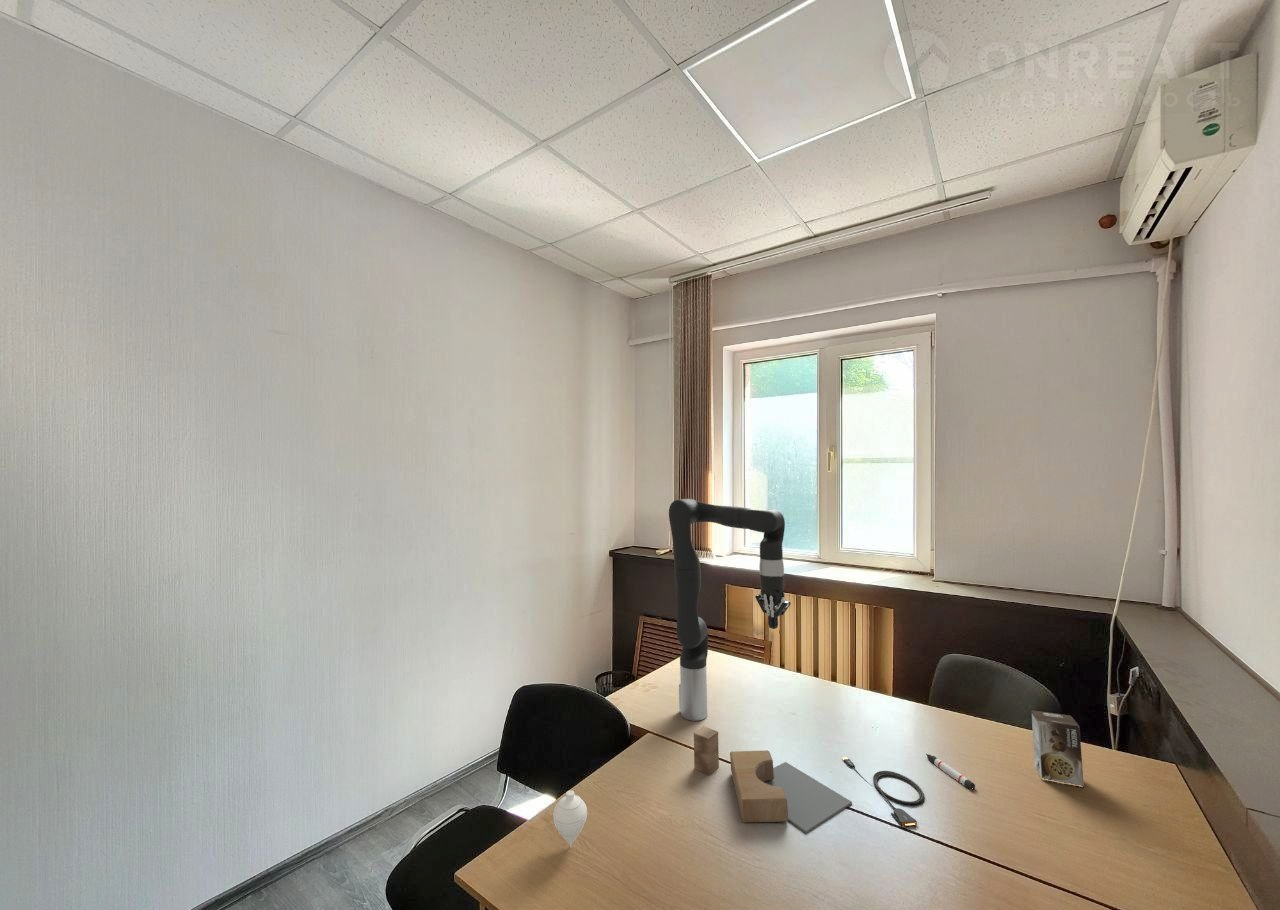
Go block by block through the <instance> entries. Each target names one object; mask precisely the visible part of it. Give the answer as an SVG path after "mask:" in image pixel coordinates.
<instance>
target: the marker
mask: <svg viewBox="0 0 1280 910" xmlns="http://www.w3.org/2000/svg"><path fill="white" fill-rule="evenodd" d="M925 755H926V757H927V759H928V760H929V762H931V763H932V764H933V765H935V766H936V767H937V768H939V769H940V770H942V771H943V772H944V773H945V774H947V775H948V776H950V777H951V778H953V779H954V780H955V779H956V781H957V782H958V781H959V782H958V783H959V784H961V783H962V784H961V785H963V786H964V787H966V788H967V789H968V788H969V789H968V790H970V789H972V788H975V789H976V784H975V782H972V781H971V780H970V779H968V778H967V777H966V776H965V775H963V774H961V773H960V772H958V771H957V770H955V769H954V768H953V767H951V766H950V765H948V764H947V763H945V762H944V761H943V760H941V759H940V758H938V757H936V756H934V755H931V754H928V753H925ZM972 790H973V789H972Z"/></svg>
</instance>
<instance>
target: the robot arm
mask: <svg viewBox="0 0 1280 910" xmlns="http://www.w3.org/2000/svg"><path fill="white" fill-rule="evenodd" d="M668 519H669V526H670V531H671V533H670V534H671V538H672V552H673V561H674V563H673V568H674V569H673V570H674V584H675V597H676V607H677V609H676V610H677V611H676V615H677V616H676V636H677V640H678V642H679V644H680V646H682V649H681V650H682V651H681V652H680V657H679V675H680V676H679V677H680V680H679V681H680V683H679V685H678V704H679V709H678V710H679V711H678V712H679V713H680V715H681V717H682V718H683V719H685V720H688V721H693V722H695V721H702V720H704V719H706V718H707V717H708V685H707V684H708V683H707V681H708V680H707V678H708V677H707V659H708V654H709V652H708V651H709V647H708V646H709V629H708V626H707V624H706V621H705V620H704V619H703V618H702V617H700V616H699V611H698V607H699V604H698V603H699V597H700V591H701V586H702V571H701V562H700V558H699V555H698V553H697V552H696V549H695V546H694V545H693V542H692V535H691V525H692V524H694V523H713V524H717V525H721V526H723V527H729V528H734V529H741V530H751V531H754V532H758V533H762V534H763V539H761V541H760V542H759V587H760V589H761V590H760V593H759V594H756V595H755V600H756V602H757V603H758V605H759V607H760V609H761V611H762V613H764V614H766V615H767V625H768V628H769V629H772V630H775V629H778V626H779V617H780V616H784V614H785V613H786V612H787V610H788V609H789V608H790V606H791V601H790V600H789V601H788V600H787V599H786V598H785V594H784V589H785V567H784V556H783V555H784V554H783V553H784V552H783V541H784V538H785V537H784V536H785V528H786V521H785V517H784V515H783V514H782V512H781V511H779V510H778V509H775V508H773V509H766V510H761V509H760V510H759V509H752V508H749V507H743V506H734V505H733V506H731V505H716V504H710V503H706V502H702V501H699V500H696V499H692V498H681V499H675V500H673V501H672V502H671V504H670V506H669V508H668Z"/></svg>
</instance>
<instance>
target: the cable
mask: <svg viewBox="0 0 1280 910" xmlns="http://www.w3.org/2000/svg"><path fill="white" fill-rule="evenodd" d="M841 760H842V761H843V763H844V764H846V766H847V767H849V768H850V769H853V770H854V771H855V773H857V775H858V776H859V777H861V778H862V779H863V780H864V782H866V783H867V784H869V785H870V786H871V787H873V786H872V784H870V782H868V780H866V779H865V778H864V777H863V776H862V775H861V774H860V772H858V771H857V769H856V766H855V764H854V762H852V761H851V759H850V758H848V757H842V758H841ZM882 778H895V779H898V780H900V781H903V782H905V783H907V784H909V786H912V788H914V790H916V792H917V793H918V795H919V797H918V799H916V800H912V801H908V800H907V801H906V800H902V799H899V798H896V797H893V796H891V795H890V794H888V793H887V792H885V791H884V790H883V789H882V788H881V787H880V785H879V784H878V783H879V780H881V779H882ZM872 781H873V785H874V787H875V789H876V791H877V792H878V793H880V794H881V795H882V797H884V799H885V801H886V802H888V803H889V805H890V807H892V809H893V812H891V813H890V815H891V816H892V818H894V820H895V821H896V822H897V824H898V825H899V826H900V827H903V828H905V829H907V828H912V827H915V828H917V826H918V821H917V819H916V818H914V817H912V816H911V815H910V814H908V812H906V811H905V810H904V809H903V808H897V807H895V806H894V805H893V804H892V802H893V803H895V804H898V805H901V806H905V807H912V808H913V807H919V806H921V805H922V804H924V803H925V798H926V797H925V794H924V791H923V789H922V788H921V787H920V786H919V785H918V784H917V783H916V782H915V781H913V780H912V779H911V778H909V777H907V776H905V775H903V774H901V773H899V772H895V771H890V770H880V771H877V772H875V773H874V774H873V776H872Z"/></svg>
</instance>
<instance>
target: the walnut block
mask: <svg viewBox="0 0 1280 910" xmlns="http://www.w3.org/2000/svg"><path fill="white" fill-rule="evenodd" d="M719 749H720V748H719V731H717V730H715V729H712V728H710V727H707V726H705V725H703V726H701V727H700V728H698V729H697V730H696V731H694V732H693V753H694V754H693V759H694V762H693V763H694V764H693V765H694V770H697V771H699V772H700V773H703V774H705V775H707V776H711V774H713V773H714V772H715V771H717V770H718V769H719V768H720V765H719V764H720V758H719V756H720V755H719Z"/></svg>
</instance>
